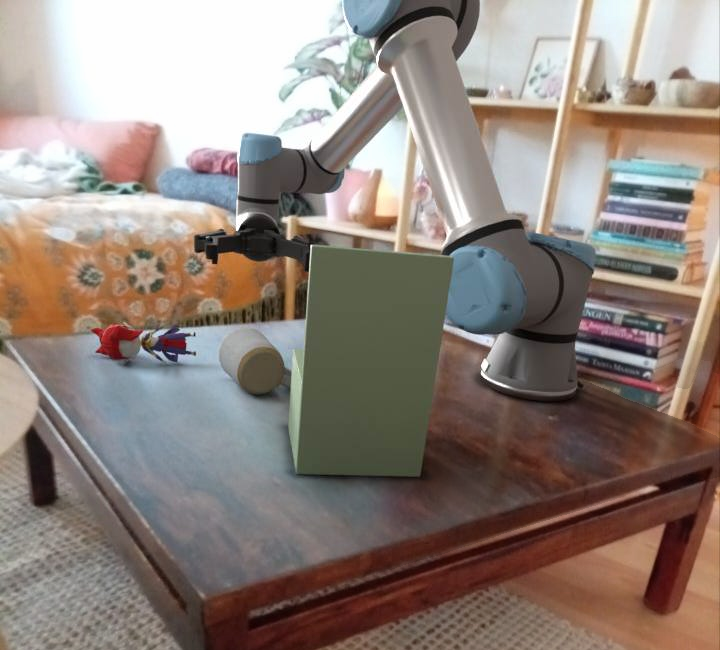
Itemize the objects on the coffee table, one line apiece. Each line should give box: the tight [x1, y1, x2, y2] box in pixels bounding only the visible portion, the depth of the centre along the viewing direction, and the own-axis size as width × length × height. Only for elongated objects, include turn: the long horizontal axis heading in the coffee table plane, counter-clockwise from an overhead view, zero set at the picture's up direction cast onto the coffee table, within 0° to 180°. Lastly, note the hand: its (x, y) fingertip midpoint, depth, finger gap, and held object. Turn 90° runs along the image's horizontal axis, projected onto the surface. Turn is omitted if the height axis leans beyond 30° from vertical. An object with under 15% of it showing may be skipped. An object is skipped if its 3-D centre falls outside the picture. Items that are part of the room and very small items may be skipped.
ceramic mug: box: [218, 326, 292, 395], centre depth 99 cm, size 11×8×8 cm
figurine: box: [90, 321, 197, 366], centre depth 104 cm, size 6×8×15 cm
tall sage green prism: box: [287, 244, 454, 478], centre depth 78 cm, size 14×13×24 cm
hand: (262, 258), depth 103 cm, fingers open, 13 cm apart
